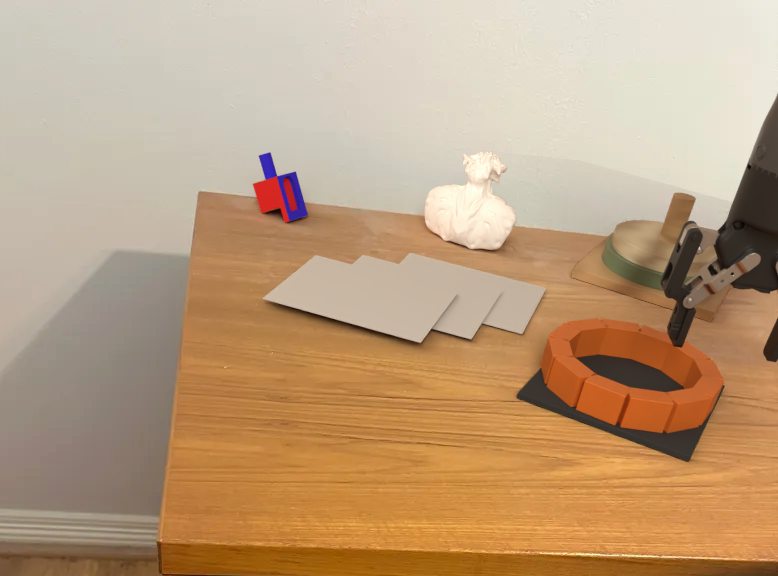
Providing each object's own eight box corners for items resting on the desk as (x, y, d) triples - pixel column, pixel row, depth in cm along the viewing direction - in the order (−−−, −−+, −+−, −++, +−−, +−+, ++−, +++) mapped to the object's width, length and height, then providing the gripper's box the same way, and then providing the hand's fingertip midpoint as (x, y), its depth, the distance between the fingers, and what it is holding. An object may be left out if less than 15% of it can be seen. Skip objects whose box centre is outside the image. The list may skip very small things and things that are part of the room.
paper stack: (345, 235, 104) (345, 230, 103) (546, 288, 99) (547, 282, 99) (261, 304, 86) (262, 298, 86) (502, 372, 81) (504, 365, 81)
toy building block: (284, 221, 109) (265, 155, 106) (308, 215, 107) (289, 146, 104) (265, 227, 107) (245, 159, 104) (289, 221, 104) (269, 151, 101)
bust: (506, 269, 108) (542, 185, 108) (497, 246, 101) (535, 155, 100) (421, 242, 112) (455, 160, 111) (406, 218, 105) (443, 130, 104)
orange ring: (728, 387, 84) (740, 359, 82) (681, 453, 73) (694, 423, 71) (578, 331, 90) (587, 304, 88) (514, 385, 79) (522, 355, 77)
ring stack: (736, 279, 110) (768, 199, 104) (710, 322, 98) (745, 235, 92) (609, 240, 115) (633, 163, 109) (570, 277, 103) (594, 192, 97)
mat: (722, 390, 85) (725, 385, 85) (688, 462, 73) (691, 456, 73) (570, 338, 90) (572, 333, 89) (516, 398, 78) (517, 392, 78)
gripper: (872, 164, 71) (788, 344, 81) (700, 137, 71) (638, 321, 81) (907, 193, 65) (811, 383, 75) (720, 163, 65) (650, 357, 75)
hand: (722, 350), depth 78 cm, fingers open, 8 cm apart
